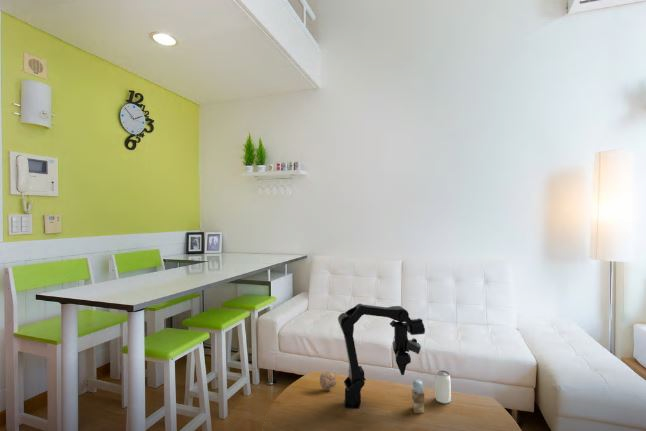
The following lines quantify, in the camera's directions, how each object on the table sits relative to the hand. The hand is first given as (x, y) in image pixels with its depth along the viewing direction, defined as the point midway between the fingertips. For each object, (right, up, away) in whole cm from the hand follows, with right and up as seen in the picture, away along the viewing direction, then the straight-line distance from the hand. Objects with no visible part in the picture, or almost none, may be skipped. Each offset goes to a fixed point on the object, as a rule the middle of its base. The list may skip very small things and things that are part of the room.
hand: (401, 370), depth 153 cm
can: (+18, -13, -1) cm, 22 cm away
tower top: (+5, -9, -9) cm, 13 cm away
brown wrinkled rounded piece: (-33, -14, +9) cm, 37 cm away
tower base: (+5, -13, -9) cm, 16 cm away
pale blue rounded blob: (+5, -5, -9) cm, 11 cm away
